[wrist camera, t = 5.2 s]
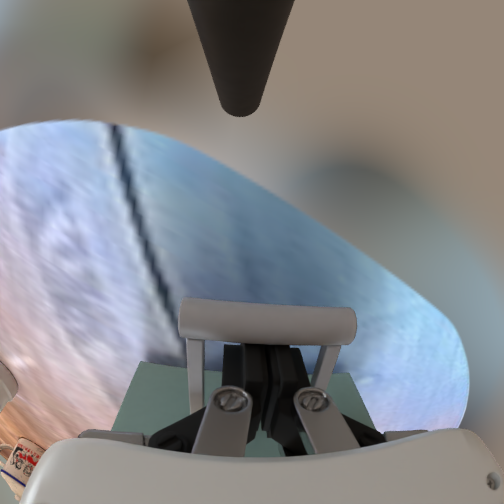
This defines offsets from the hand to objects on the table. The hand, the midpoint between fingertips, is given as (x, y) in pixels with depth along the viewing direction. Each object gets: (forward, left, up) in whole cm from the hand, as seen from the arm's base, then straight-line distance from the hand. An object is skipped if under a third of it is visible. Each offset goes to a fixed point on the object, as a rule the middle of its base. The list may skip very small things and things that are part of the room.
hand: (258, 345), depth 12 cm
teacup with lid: (+33, -32, -4) cm, 46 cm away
